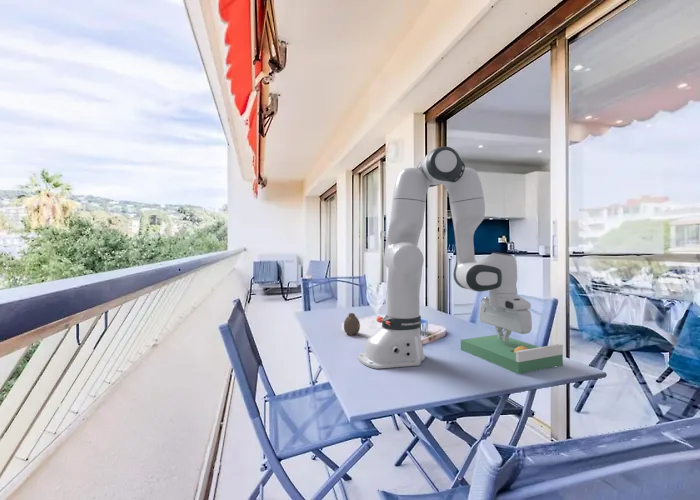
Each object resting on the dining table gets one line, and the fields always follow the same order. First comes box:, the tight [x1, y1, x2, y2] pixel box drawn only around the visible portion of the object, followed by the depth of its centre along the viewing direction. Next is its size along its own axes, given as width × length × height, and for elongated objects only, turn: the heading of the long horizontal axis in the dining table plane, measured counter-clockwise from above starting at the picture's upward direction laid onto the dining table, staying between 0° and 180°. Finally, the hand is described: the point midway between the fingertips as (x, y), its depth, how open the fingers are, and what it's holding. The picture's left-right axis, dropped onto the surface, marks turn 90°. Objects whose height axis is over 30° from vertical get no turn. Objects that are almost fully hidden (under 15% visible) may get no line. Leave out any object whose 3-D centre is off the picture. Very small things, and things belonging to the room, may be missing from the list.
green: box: [460, 334, 564, 375], centre depth 120 cm, size 18×26×6 cm
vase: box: [343, 312, 361, 336], centre depth 152 cm, size 7×7×9 cm
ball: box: [514, 346, 528, 353], centre depth 114 cm, size 5×5×5 cm
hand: (503, 340), depth 121 cm, fingers closed
